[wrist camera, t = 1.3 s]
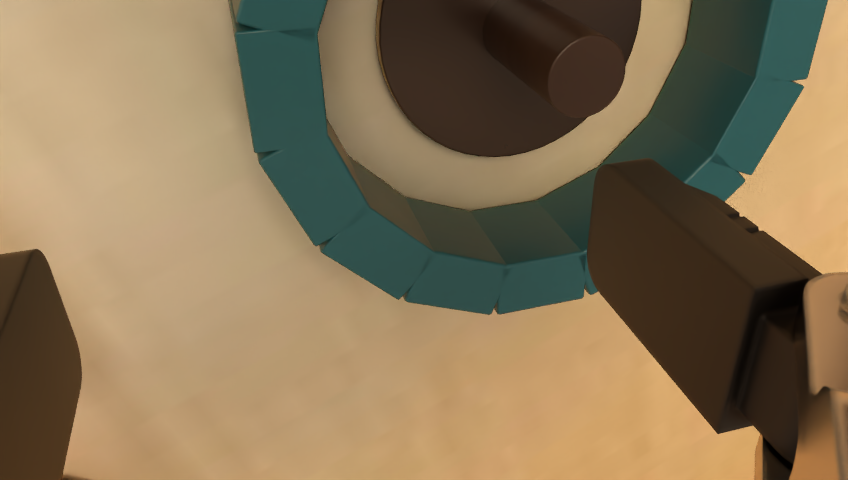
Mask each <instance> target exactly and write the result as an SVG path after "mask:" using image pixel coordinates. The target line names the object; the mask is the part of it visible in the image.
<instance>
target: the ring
mask: <svg viewBox="0 0 848 480" xmlns="http://www.w3.org/2000/svg"><path fill="white" fill-rule="evenodd" d="M827 2H828V0H693V2H692V8H691V14H690V20H689V26H688V32H687V38H686V43H685V45H684V47H683V49H682V51H681V53H680V55H679V57H678V59H677V61H676V63H675V65H674V67H673V69H672V71H671V73H670V75H669V77H668V78H667V80H666V82H665V84H664V86H663V88H662V90H661V92H660V94H659V96H658V98H657V100H656V102H655V104H654V106H653V108H652V110H651V112H650V114H649V115H648V116H647V117H646V118H645V119H644V120H643V121H642V122H641V124H640V125H639V126H638V127H637V128H636V129H635V130H634V131H633V132H632V133H631V134H630V135H629V136H628V137H627V138H626V139H625V140H624V141H623V142H622V143H621V144H620V145H619V146H618V147H617V148H616V149H615V150H614V151H613V152H612V153H611V154H610V155H609V157H608V158H607V159H606V160H605V161H604V162H603V163H602V164H601V165H600V166H599V167H597V168H596V169H594V170H592V171H590V172H588V173H586V174H584V175H583V176H581V177H579V178H577V179H575V180H573V181H571V182H570V183H568V184H566V185H564V186H562V187H560V188H559V189H557V190H555V191H553V192H551V193H549V194H547V195H546V196H544V197H542V198H540V199H538V200H536V201H529V202H523V203H517V204H511V205H505V206H498V207H492V208H486V209H480V210H474V211H466V210H462V209H457V208H452V207H448V206H443V205H439V204H434V203H430V202H425V201H421V200H416V199H411V198H407V197H404V196H403V195H402V194H400V193H399V192H398V191H396V190H395V189H393V188H392V187H391V186H389V185H388V184H387V183H385V182H384V181H382V180H381V179H380V178H378V177H377V176H376V175H374V174H373V173H371V172H370V171H369V170H367V169H366V168H365V167H363V166H362V165H360V164H359V163H358V162H356V161H355V160H354V159H352V158H351V157H349V156H348V155H347V153H346V151H345V150H344V148H343V146H342V144H341V143H340V141H339V139H338V138H337V136H336V134H335V132H334V131H333V129H332V127H331V125H330V124H329V122H328V120H327V118H326V110H325V101H324V91H323V82H322V72H321V63H320V54H319V44H318V35H317V34H318V31H319V28H320V24H321V21H322V17H323V14H324V11H325V7H326V4H327V0H229V6H230V12H231V18H232V24H233V30H234V36H235V42H236V48H237V54H238V60H239V66H240V71H241V77H242V83H243V89H244V95H245V101H246V107H247V113H248V119H249V124H250V130H251V136H252V142H253V147H254V152H255V153H257V155H258V160H259V164H260V165H261V167H262V168H263V170H264V171H265V173H266V174H267V175H268V177H269V178H270V180H271V181H272V183H273V184H274V186H275V187H276V189H277V190H278V192H279V193H280V195H281V196H282V198H283V199H284V201H285V202H286V204H287V205H288V207H289V208H290V210H291V211H292V213H293V214H294V216H295V217H296V219H297V220H298V222H299V223H300V225H301V226H302V228H303V229H304V231H305V232H306V234H307V235H308V237H309V238H310V240H311V241H312V243H313V244H314V245H315V246H318V245H319V247H320V250H321V252H322V253H323V254H325V255H326V256H328V257H330V258H331V259H333V260H335V261H336V262H338V263H339V264H341V265H343V266H344V267H346V268H347V269H349V270H351V271H352V272H354V273H356V274H357V275H359V276H360V277H362V278H364V279H365V280H367V281H369V282H370V283H372V284H373V285H375V286H377V287H378V288H380V289H382V290H383V291H385V292H386V293H388V294H390V295H391V296H393V297H395V298H396V299H398V300H399V299H400V298H401V297H402V296H403V297H404V299H405V301H407V302H410V303H417V304H423V305H430V306H436V307H442V308H449V309H455V310H462V311H468V312H475V313H481V314H488V315H490V314H491V313H492V311H493V309H495V310H496V312H497V314H505V313H510V312H515V311H520V310H525V309H530V308H535V307H540V306H546V305H551V304H556V303H561V302H566V301H571V300H576V299H581V298H583V297H584V289H585V290H586V291H587V292H588V293H589V294H590V295H592V294H594V293H596V292H598V290H597V289H596V287H595V285H594V283H593V281H592V279H591V276H590V273H589V269H588V263H587V245H588V236H589V226H590V217H591V207H592V198H593V188H594V180H595V176H596V173H597V171H598V169H599V168H600V167H601V166H602V165H605V164H611V163H618V162H624V161H631V160H638V159H644V158H650V159H653V160H654V161H656V162H657V163H658V164H660V165H661V166H662V167H664V168H665V169H666V170H668V171H669V172H670V173H672V174H673V175H674V176H676V177H677V178H678V179H679V180H681V181H682V182H683V183H685V184H688V185H690V186H693V187H695V188H698V189H700V190H703V191H705V192H708V193H710V194H712V195H715V196H717V197H718V198H720V199H721V200H722V201H724V202H725V201H726V200H727V199H728V198H729V197H730V196H731V195H732V194H733V193H734V192H735V191H736V190H737V189H738V188H739V187H740V186H741V185H742V184H743V183H744V182H745V179H744V178H743V177H742V175H741V174H740V173H739V172H742V173H745V174H748V175H752V173H753V172H754V170H755V168H756V167H757V165H758V163H759V162H760V160H761V158H762V157H763V155H764V153H765V152H766V150H767V148H768V147H769V145H770V143H771V142H772V140H773V138H774V137H775V135H776V133H777V132H778V130H779V128H780V127H781V125H782V123H783V122H784V120H785V118H786V117H787V115H788V113H789V112H790V110H791V108H792V107H793V105H794V103H795V102H796V100H797V98H798V97H799V95H800V93H801V92H802V90H803V88H804V86H803V85H800V84H798V83H796V82H794V81H795V80H802V79H806V78H807V77H808V74H809V70H810V66H811V62H812V58H813V55H814V51H815V47H816V43H817V39H818V36H819V32H820V28H821V24H822V21H823V17H824V13H825V9H826V5H827Z"/></svg>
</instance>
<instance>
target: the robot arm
mask: <svg viewBox="0 0 848 480" xmlns="http://www.w3.org/2000/svg"><path fill="white" fill-rule="evenodd" d="M587 263H588V269H589V273H590V276H591V279H592V281H593V283H594V285H595V287H596V289H597V290H598V291H599V292H600V294H601V295H602V296H603V297H604V298H605V300H606V301H607V302H608V303H609V304H610V306H611V307H612V308H613V309H614V310H615V312H616V313H617V314H618V315H619V316H620V318H621V319H622V320H623V321H624V322H625V324H626V325H627V326H628V327H629V328H630V330H631V331H632V332H633V333H634V334H635V335H636V337H637V338H638V339H639V340H640V341H641V343H642V344H643V345H644V346H645V347H646V349H647V350H648V351H649V352H650V353H651V355H652V356H653V357H654V358H655V359H656V361H657V362H658V363H659V364H660V365H661V367H662V368H663V369H664V370H665V371H666V373H667V374H668V375H669V376H670V377H671V379H672V380H673V381H674V382H675V383H676V385H677V386H678V387H679V388H680V389H681V391H682V392H683V393H684V394H685V395H686V396H687V398H688V399H689V400H690V401H691V402H692V404H693V405H694V406H695V407H696V408H697V410H698V411H699V412H700V413H701V414H702V416H703V417H704V418H705V419H706V420H707V422H708V423H709V424H710V425H711V426H712V428H713V429H714V430H715V431H716V432H717V434H720V433H724V432H728V431H732V430H736V429H740V428H744V427H748V426H752V425H753V426H754V427H755V428H756V429H757V430H758V431H759V432H760V436H759V439H758V443H757V446H756V450H755V476H754V480H848V273H845V272H839V273H828V274H821V273H820V272H819V271H817V270H816V269H815V268H813V267H812V266H810V265H809V264H808V263H806V262H805V261H804V260H802V259H801V258H800V257H798V256H797V255H796V254H794V253H793V252H791V251H790V250H789V249H787V248H786V247H785V246H783V245H782V244H781V243H779V242H778V241H777V240H775V239H774V238H773V237H771V236H770V235H768V234H767V233H766V232H764V231H759V230H758V226H756V225H755V224H754V223H752V222H751V221H749V220H748V219H747V218H745V217H744V216H743V217H740V216H739V212H737V211H736V210H735V209H733V208H732V207H730V206H729V205H728V204H726V203H725V202H724V201H722V200H721V199H720V198H718V197H717V196H715V195H712V194H710V193H708V192H705V191H703V190H700V189H698V188H695V187H693V186H690V185H688V184H685V183H683V182H682V181H681V180H679V179H678V178H677V177H676V176H674V175H673V174H672V173H670V172H669V171H668V170H666V169H665V168H664V167H662V166H661V165H660V164H658V163H657V162H656V161H654V160H653V159H650V158H644V159H638V160H631V161H624V162H618V163H611V164H605V165H602V166H601V167H600V168H599V169H598V171H597V173H596V176H595V180H594V188H593V198H592V207H591V217H590V226H589V236H588V245H587ZM81 381H82V367H81V358H80V353H79V348H78V344H77V341H76V338H75V335H74V332H73V330H72V327H71V324H70V321H69V319H68V316H67V313H66V310H65V308H64V305H63V302H62V299H61V297H60V294H59V291H58V288H57V286H56V283H55V280H54V277H53V275H52V272H51V269H50V266H49V264H48V262H47V260H46V258H45V256H44V255H43V253H42V252H41V251H40V250H38V249H33V250H26V251H20V252H13V253H6V254H0V480H61V479H62V474H63V469H64V465H65V460H66V455H67V450H68V446H69V441H70V436H71V431H72V427H73V422H74V417H75V412H76V408H77V403H78V398H79V394H80V389H81Z"/></svg>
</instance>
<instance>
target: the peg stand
mask: <svg viewBox="0 0 848 480" xmlns="http://www.w3.org/2000/svg"><path fill="white" fill-rule="evenodd" d="M640 14H641V0H379V1H378V9H377V17H376V43H377V51H378V58H379V62H380V66H381V69H382V73H383V76H384V78H385V81H386V83H387V86H388V88H389V90H390V92H391V94H392V96H393V97H394V99H395V101H396V102H397V104H398V106H399V107H400V108H401V110H402V111H403V112H404V114H405V115H406V116H407V117H408V119H409V120H410V121H411V122H412V123H413V124H414V125H415V126H416V127H417V128H418V129H419V130H420V131H421V132H422V133H424V134H425V135H427V136H428V137H430V138H431V139H432V140H434V141H435V142H437V143H439V144H441V145H443V146H445V147H447V148H449V149H452V150H455V151H458V152H461V153H464V154H470V155H475V156H486V157H500V156H511V155H516V154H521V153H526V152H529V151H532V150H535V149H538V148H540V147H543V146H545V145H547V144H549V143H551V142H553V141H555V140H557V139H559V138H560V137H562V136H564V135H565V134H567V133H569V132H570V131H571V130H573V129H574V128H575V127H577V126H578V125H579V124H580V123H582V122H583V121H584V120H585V119H586V118H587V117H588V116H591V115H593V114H596V113H598V112H599V111H601V110H603V109H604V108H605V107H606V106H608V105H609V104H610V103H611V102H612V100H613V99H614V98H615V97H616V95H617V94H618V92H619V90H620V88H621V86H622V83H623V80H624V75H625V66H626V63H627V61H628V58H629V56H630V54H631V51H632V48H633V45H634V42H635V38H636V35H637V31H638V26H639V20H640Z"/></svg>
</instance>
